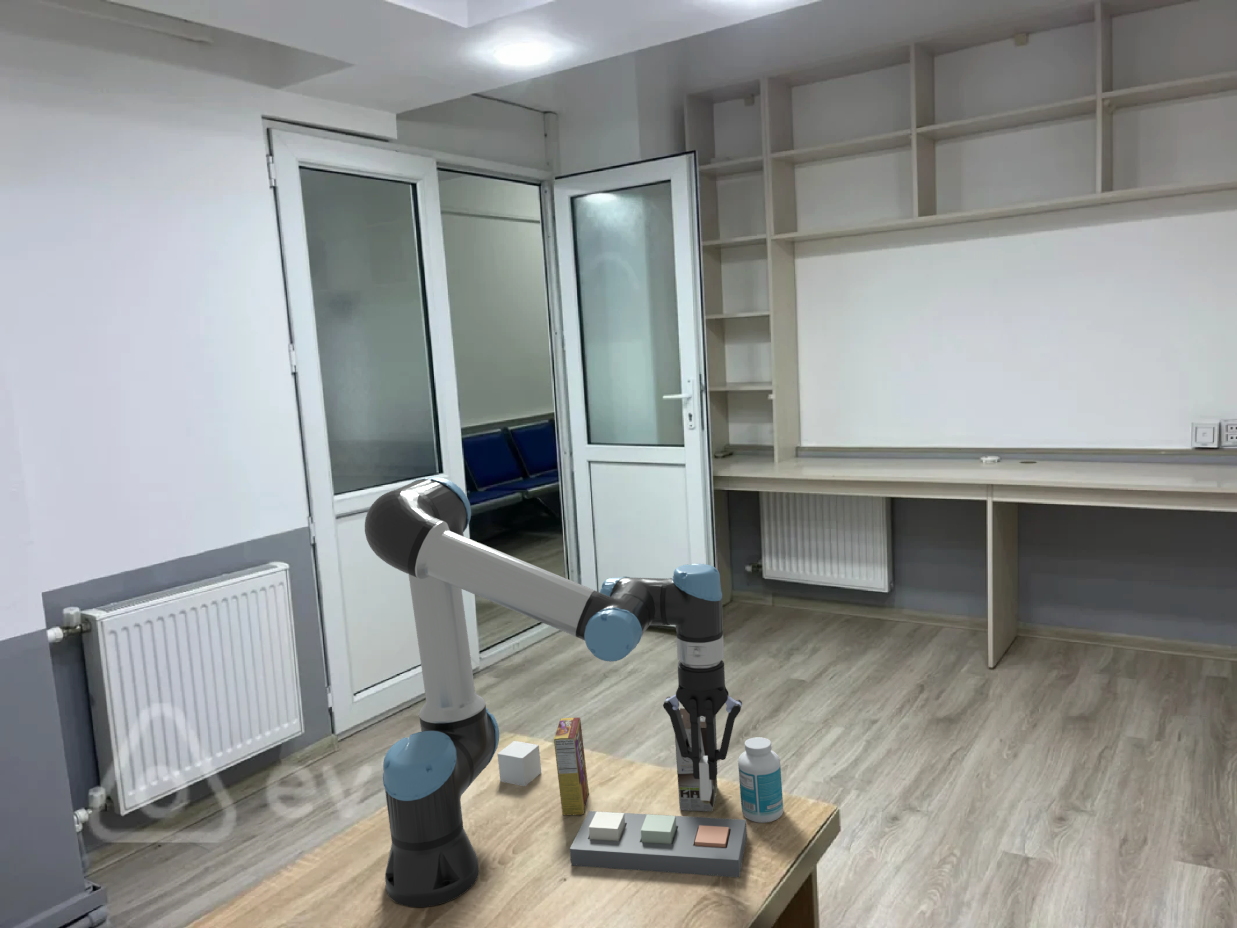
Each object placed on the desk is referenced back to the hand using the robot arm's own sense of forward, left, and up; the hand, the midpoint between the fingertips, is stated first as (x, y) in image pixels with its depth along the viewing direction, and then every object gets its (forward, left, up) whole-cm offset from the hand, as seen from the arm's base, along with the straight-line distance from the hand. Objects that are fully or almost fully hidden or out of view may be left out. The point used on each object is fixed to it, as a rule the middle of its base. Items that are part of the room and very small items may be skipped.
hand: (706, 796), depth 152 cm
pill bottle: (+8, +13, -11) cm, 19 cm away
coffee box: (-4, +17, -11) cm, 21 cm away
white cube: (-41, +22, -11) cm, 48 cm away
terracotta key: (+1, 0, -10) cm, 10 cm away
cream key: (-17, 0, -9) cm, 19 cm away
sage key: (-8, 0, -9) cm, 12 cm away
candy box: (-27, +13, -11) cm, 32 cm away
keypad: (-8, 0, -10) cm, 13 cm away
